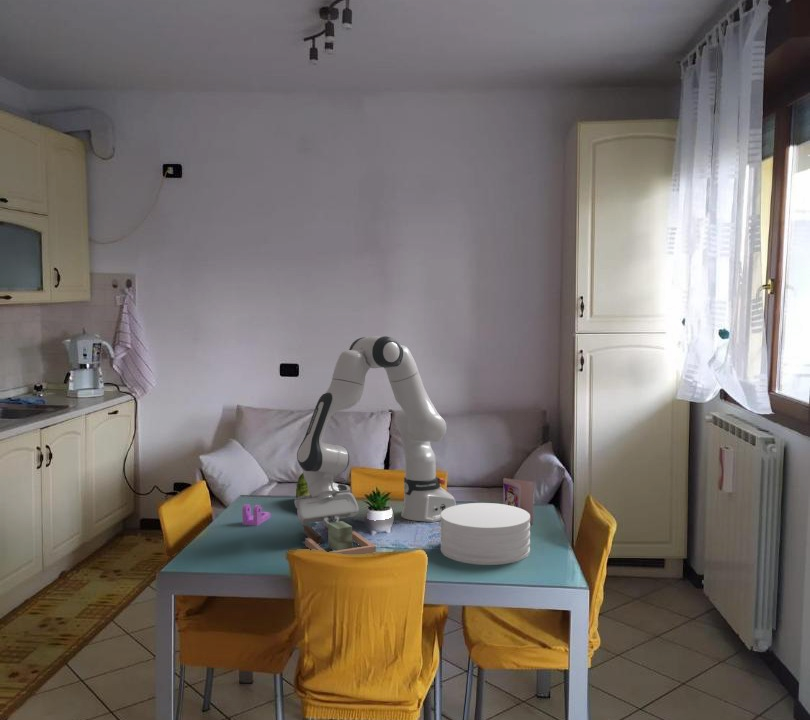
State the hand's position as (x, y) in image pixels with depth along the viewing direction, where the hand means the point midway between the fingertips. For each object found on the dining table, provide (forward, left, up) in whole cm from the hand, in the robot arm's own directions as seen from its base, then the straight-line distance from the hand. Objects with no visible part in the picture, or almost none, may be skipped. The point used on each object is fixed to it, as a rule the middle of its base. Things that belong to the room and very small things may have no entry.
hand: (334, 530), depth 255 cm
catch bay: (0, +5, -5) cm, 7 cm away
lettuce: (-9, -48, -5) cm, 49 cm away
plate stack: (-41, +26, -5) cm, 49 cm away
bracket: (+15, -39, -5) cm, 42 cm away
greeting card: (-67, +6, -5) cm, 67 cm away
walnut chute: (0, -10, -5) cm, 11 cm away
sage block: (0, +5, -5) cm, 7 cm away
